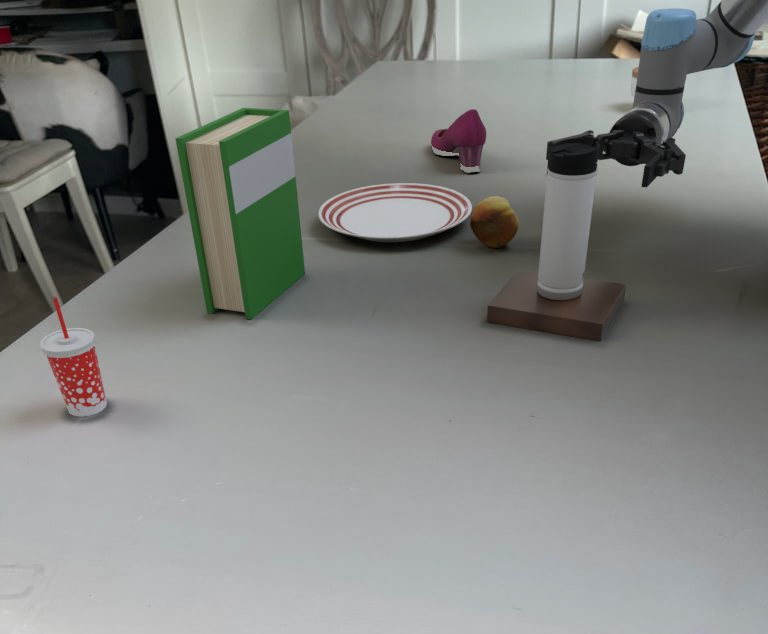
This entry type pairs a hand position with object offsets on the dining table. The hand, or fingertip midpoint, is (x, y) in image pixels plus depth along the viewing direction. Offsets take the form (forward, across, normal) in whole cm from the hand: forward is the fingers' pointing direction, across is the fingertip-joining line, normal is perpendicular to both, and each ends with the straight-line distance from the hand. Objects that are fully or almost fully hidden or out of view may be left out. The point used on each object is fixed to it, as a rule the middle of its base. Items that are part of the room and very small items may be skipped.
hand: (596, 171), depth 112 cm
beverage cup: (+60, +42, -16) cm, 76 cm away
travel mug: (+10, 0, -14) cm, 17 cm away
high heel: (-55, +46, -16) cm, 74 cm away
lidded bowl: (-115, +20, -16) cm, 118 cm away
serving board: (+11, 0, -16) cm, 20 cm away
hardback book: (+23, +44, -16) cm, 52 cm away
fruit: (-9, +19, -16) cm, 27 cm away
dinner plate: (-12, +39, -16) cm, 44 cm away
